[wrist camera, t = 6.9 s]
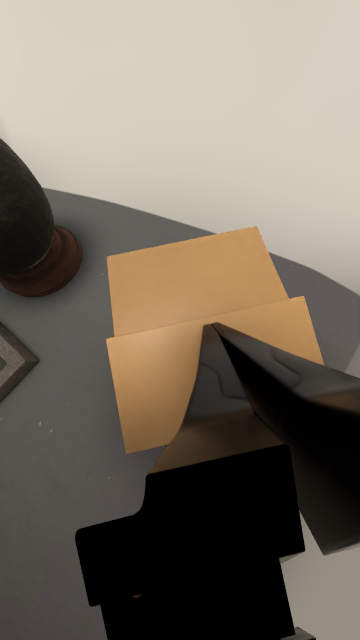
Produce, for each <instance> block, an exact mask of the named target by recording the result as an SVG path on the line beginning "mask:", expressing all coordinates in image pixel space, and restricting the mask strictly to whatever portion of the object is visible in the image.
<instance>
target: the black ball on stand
mask: <svg viewBox="0 0 360 640" xmlns="http://www.w3.org/2000/svg"><path fill="white" fill-rule="evenodd" d="M81 260H82V248H81V245H80V243H79V241H78V240H77V239H76V237H75V236H74V235H73V234H72V233H71V232H70V231H69V230H67V229H65V228H63V227H61V226H57V225H54V219H53V214H52V211H51V207H50V204H49V202H48V199H47V197H46V195H45V193H44V191H43V189H42V187H41V185H40V184H39V182H38V181H37V180H36V178H35V177H34V175H33V174H32V172H31V171H30V170H29V168H28V167H27V166H26V165H25V163H24V162H23V161H22V160H21V159H20V158H19V157H18V156H17V154H16V153H14V151H13V150H12V149H11V148H10V147H9V146H8V145H7V144H6V143H5V142H4V141H3V140H2V139H0V282H1V284H2V285H3V286H4V287H5V288H6V289H8V290H10V291H12V292H14V293H16V294H19V295H22V296H26V297H39V296H44V295H47V294H50V293H53V292H55V291H57V290H59V289H60V288H62V287H63V286H65V285H66V284H67V283H68V282H69V281H70V280H71V279H72V278H73V276H74V275H75V274H76V272H77V270H78V269H79V267H80V264H81Z"/></svg>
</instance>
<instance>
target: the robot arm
mask: <svg viewBox="0 0 360 640" xmlns="http://www.w3.org/2000/svg"><path fill="white" fill-rule="evenodd" d="M299 510H300V512H301V514H302V516H303V518H304V520H305V522H306V524H307V526H308V527H309V529H310V531H311V533H312V535H313V537H314V539H315V540H316V542H317V544H318V546H319V548H320V550H321V552H322V553H323V555H329V554H332V553H336V552H340V551H344V550H348V549H352V548H356V547H359V546H360V378H357V377H354V376H351V375H349V374H346V373H343V372H340V371H337V370H335V369H332V368H329V367H326V366H323V365H321V364H318V363H315V362H312V361H310V360H307V359H304V358H301V357H299V356H296V355H294V354H291V353H289V352H286V351H284V350H282V349H279V348H277V347H275V346H272V345H270V344H268V343H265V342H263V341H261V340H258V339H256V338H254V337H251V336H249V335H247V334H245V333H242V332H240V331H238V330H235V329H233V328H231V327H228V326H226V325H224V324H221V323H219V322H215V323H211V324H205V325H203V329H202V337H201V345H200V353H199V360H198V367H197V373H196V379H195V382H194V386H193V390H192V393H191V396H190V399H189V402H188V406H187V409H186V412H185V415H184V418H183V421H182V423H181V426H180V428H179V430H178V432H177V434H176V435H175V437H174V438H173V439H172V441H171V442H170V444H169V445H168V446H167V448H166V449H165V451H164V452H163V453H162V455H161V456H160V458H159V459H158V461H157V462H156V463H155V465H154V466H153V468H152V469H151V470H150V472H149V473H148V475H147V476H146V486H145V496H144V500H143V504H142V507H141V509H140V511H138V512H137V513H135V514H134V515H131V516H127V517H123V518H120V519H116V520H112V521H108V522H104V523H100V524H96V525H92V526H89V527H85V528H81V529H79V530H77V532H76V535H75V541H76V546H77V551H78V555H79V560H80V565H81V569H82V574H83V578H84V583H85V588H86V592H87V597H88V602H89V605H90V606H91V607H92V606H99V605H100V606H101V611H102V615H103V620H104V625H105V629H106V634H107V639H108V640H316V638H315V637H313V636H312V635H310V634H309V633H307V632H305V631H304V630H302V629H301V628H299V627H296V628H294V625H293V620H292V616H291V611H290V607H289V602H288V597H287V593H286V588H285V583H284V579H283V574H282V569H281V565H280V564H281V563H283V562H285V561H287V560H289V559H291V558H293V557H295V556H297V555H299V554H301V553H302V552H304V551H305V545H304V539H303V533H302V526H301V520H300V513H299Z"/></svg>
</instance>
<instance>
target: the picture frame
mask: <svg viewBox="0 0 360 640" xmlns="http://www.w3.org/2000/svg"><path fill="white" fill-rule="evenodd" d="M38 361H39V360H38V359H37V358H36V357H35V356H34V355H33V354H31V353H30V352H29V351H28V350H27V349H26V348H25V347H24V346H23V345H22V344H21V343H20V342H19V341H18V340H17V339H16V338H15V337H14V336H13V335H12V334H11V333H10V332H9V331H8V330H7V329H6V328H5V327H4V326H3V325H2V324H1V323H0V402H1V401H2V400H3V399H4V398H5V396H6V395H7V394H8V393H9V392H10V391H11V390H12V389H13V388H14V387H15V386H16V385H17V384H18V383H19V382H20V380H21V379H22V378H23V377H24V376H25V375H26V374H27V373H28V372H29V371H30V370H31V369H32V368H33V367H34V366H35V365H36V363H37V362H38Z"/></svg>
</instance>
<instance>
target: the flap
mask: <svg viewBox="0 0 360 640" xmlns="http://www.w3.org/2000/svg"><path fill="white" fill-rule="evenodd" d="M215 322H219V323H221V324H224V325H226V326H228V327H231V328H233V329H235V330H238V331H240V332H242V333H245V334H247V335H249V336H251V337H254V338H256V339H258V340H261V341H263V342H265V343H268V344H270V345H272V346H275V347H277V348H279V349H282V350H284V351H286V352H289V353H291V354H294V355H296V356H299V357H301V358H304V359H307V360H310V361H312V362H315V363H318V364H321V365H323V366H324V363H323V359H322V356H321V353H320V349H319V346H318V342H317V339H316V336H315V332H314V329H313V325H312V322H311V319H310V315H309V312H308V308H307V305H306V302H305V298H304V296H301V297H296V298H292V299H287V300H283V301H278V302H273V303H269V304H264V305H260V306H255V307H250V308H246V309H241V310H237V311H232V312H227V313H223V314H218V315H214V316H209V317H204V318H200V319H195V320H191V321H186V322H181V323H177V324H172V325H168V326H163V327H158V328H154V329H149V330H144V331H140V332H135V333H131V334H126V335H121V336H117V337H112V338H108V339H106V342H107V348H108V354H109V359H110V365H111V371H112V377H113V382H114V388H115V394H116V399H117V405H118V411H119V417H120V422H121V428H122V434H123V440H124V445H125V451H126V454H129V453H134V452H138V451H142V450H146V449H151V448H155V447H159V446H164V445H168V444H170V442H171V441H172V439H173V438H174V437H175V435H176V434H177V432H178V430H179V428H180V426H181V423H182V421H183V418H184V415H185V412H186V409H187V406H188V402H189V399H190V396H191V393H192V390H193V386H194V382H195V379H196V373H197V367H198V360H199V353H200V345H201V337H202V329H203V325H205V324H211V323H215Z"/></svg>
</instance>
